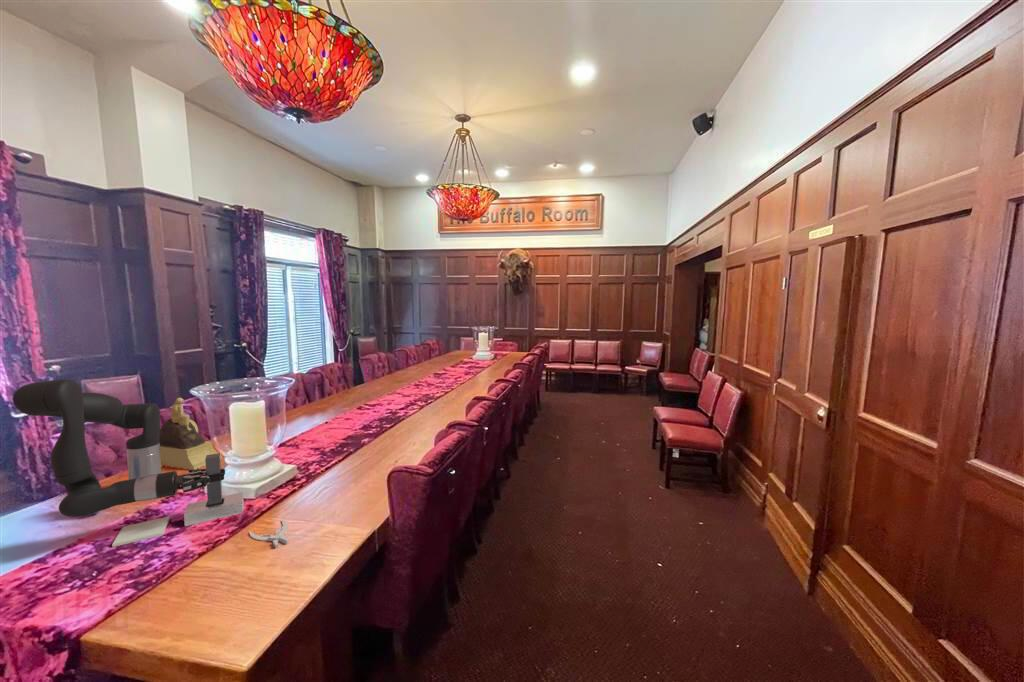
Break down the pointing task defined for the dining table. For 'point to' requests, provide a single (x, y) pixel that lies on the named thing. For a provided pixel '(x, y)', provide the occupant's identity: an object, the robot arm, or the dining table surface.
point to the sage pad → (141, 531)
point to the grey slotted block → (213, 509)
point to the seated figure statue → (183, 441)
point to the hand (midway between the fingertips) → (224, 474)
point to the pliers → (276, 538)
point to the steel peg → (215, 487)
